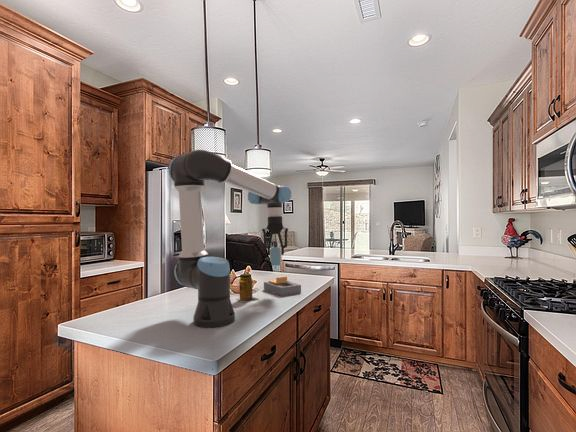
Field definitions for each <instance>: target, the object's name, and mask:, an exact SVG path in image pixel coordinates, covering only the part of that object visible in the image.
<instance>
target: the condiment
mask: <svg viewBox="0 0 576 432" xmlns="http://www.w3.org/2000/svg"><path fill="white" fill-rule="evenodd" d="M236 300H237V301H240V302H243V303H247V302H252V301H255V300H256V301H257V300H259V298H257V297H255V296H253V280H252V274H251V273H240V276H239V298H236Z"/></svg>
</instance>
